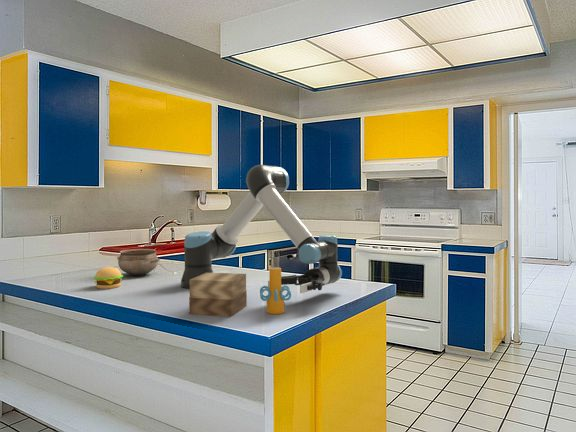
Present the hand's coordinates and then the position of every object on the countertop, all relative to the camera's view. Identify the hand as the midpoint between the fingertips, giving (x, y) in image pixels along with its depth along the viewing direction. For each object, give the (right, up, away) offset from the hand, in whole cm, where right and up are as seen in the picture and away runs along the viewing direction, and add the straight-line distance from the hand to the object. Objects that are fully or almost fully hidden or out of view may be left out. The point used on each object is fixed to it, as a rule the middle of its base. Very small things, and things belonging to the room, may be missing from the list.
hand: (284, 287), depth 159 cm
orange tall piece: (-3, -8, -3) cm, 9 cm away
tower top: (-23, -2, 0) cm, 23 cm away
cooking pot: (-74, -5, +70) cm, 102 cm away
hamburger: (-77, -7, +41) cm, 88 cm away
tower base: (-23, -8, 0) cm, 24 cm away
